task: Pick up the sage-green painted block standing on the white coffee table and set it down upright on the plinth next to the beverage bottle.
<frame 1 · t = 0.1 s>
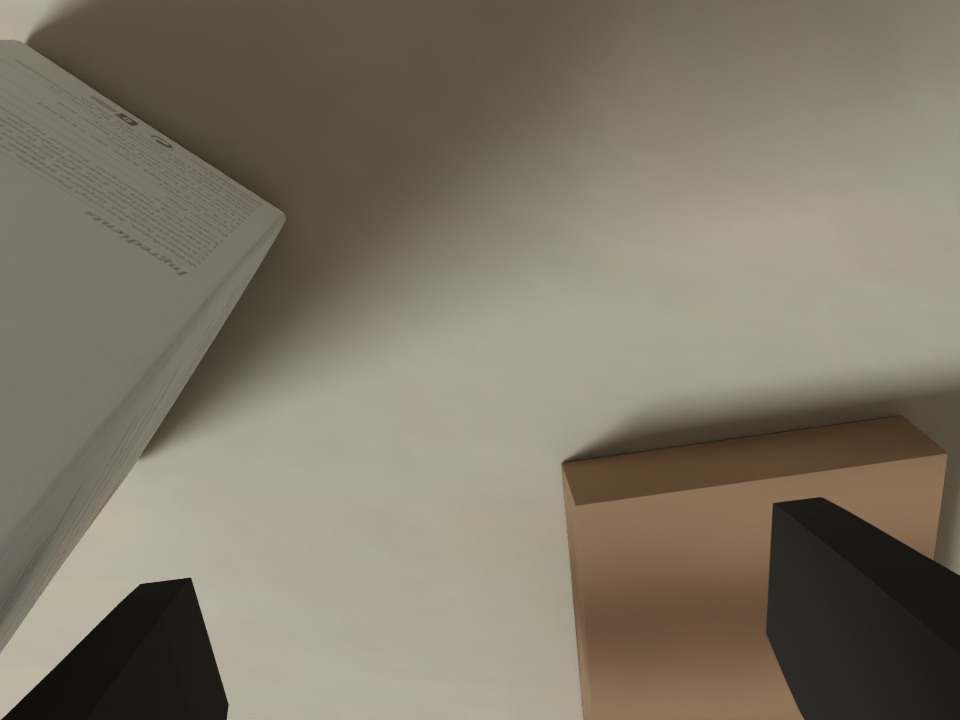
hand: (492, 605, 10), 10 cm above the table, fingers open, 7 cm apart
small box: (81, 276, 18), on the table, touching gripper
plinth: (730, 578, 23), on the table
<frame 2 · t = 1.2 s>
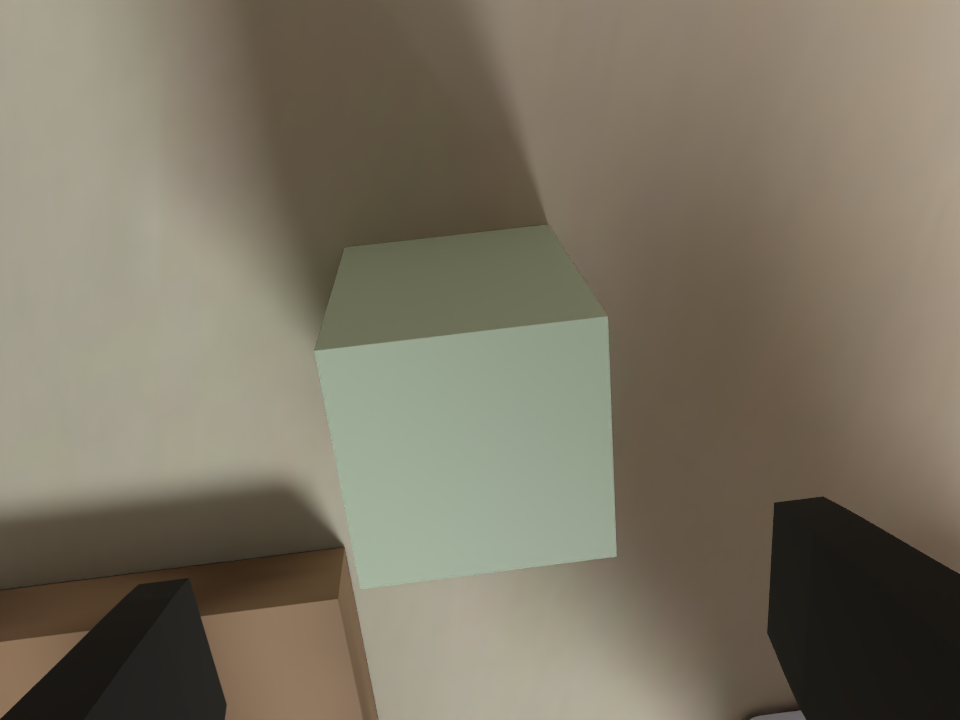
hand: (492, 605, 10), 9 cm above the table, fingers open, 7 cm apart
plinth: (207, 702, 22), on the table
block: (457, 330, 19), on the table
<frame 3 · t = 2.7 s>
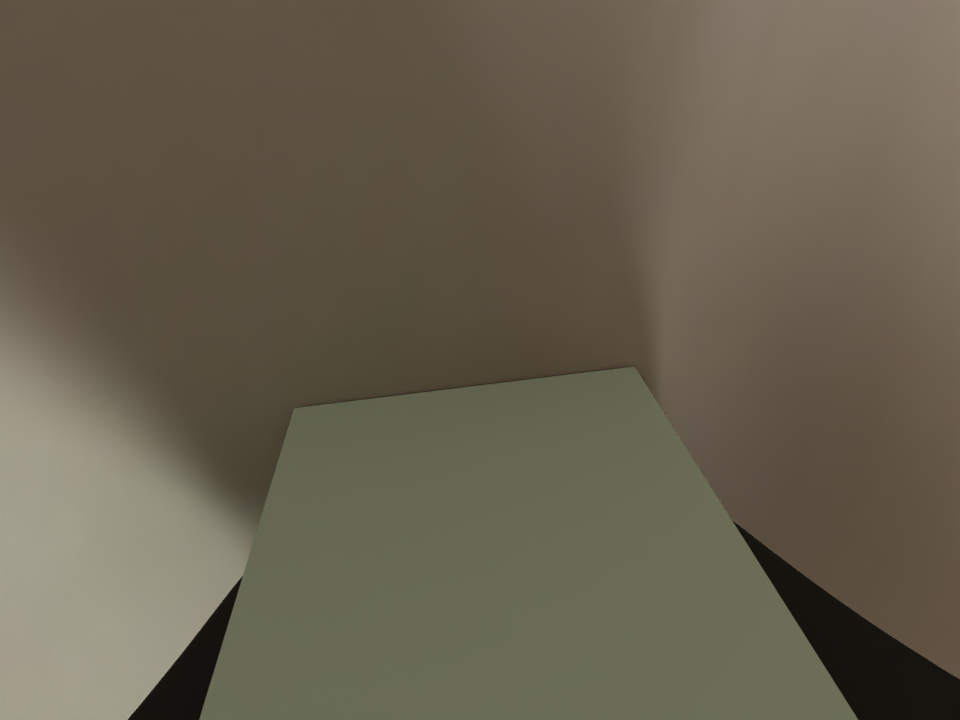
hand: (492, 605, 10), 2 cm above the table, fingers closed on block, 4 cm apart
block: (482, 529, 12), on the table, touching gripper
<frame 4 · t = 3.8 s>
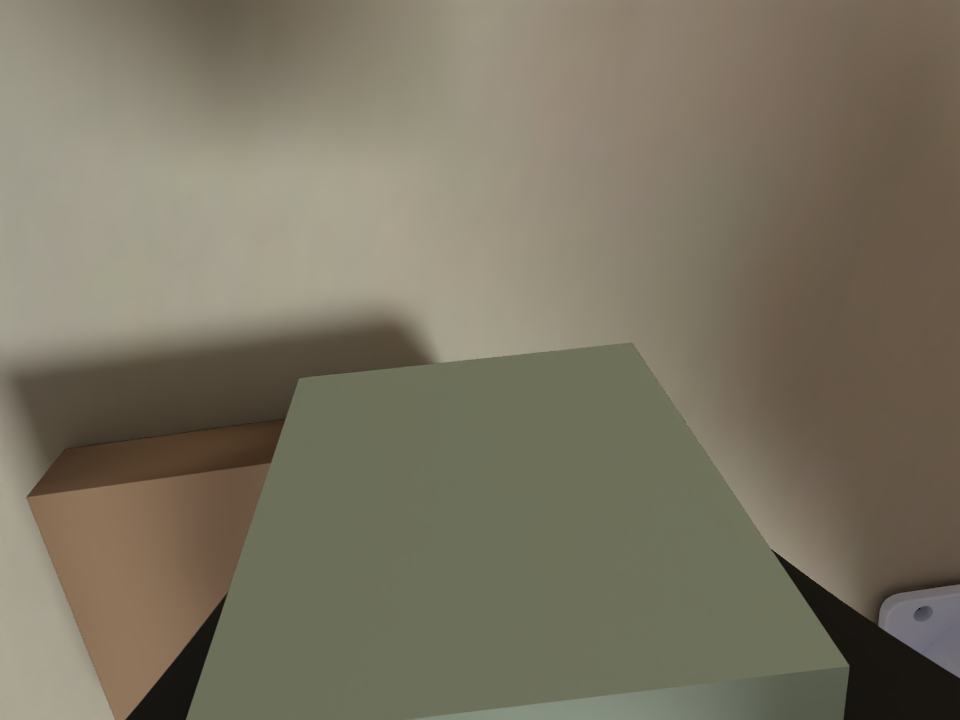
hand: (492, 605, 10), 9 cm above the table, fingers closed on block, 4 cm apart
plinth: (301, 579, 20), on the table
block: (480, 502, 12), point 7 cm above the table, touching gripper
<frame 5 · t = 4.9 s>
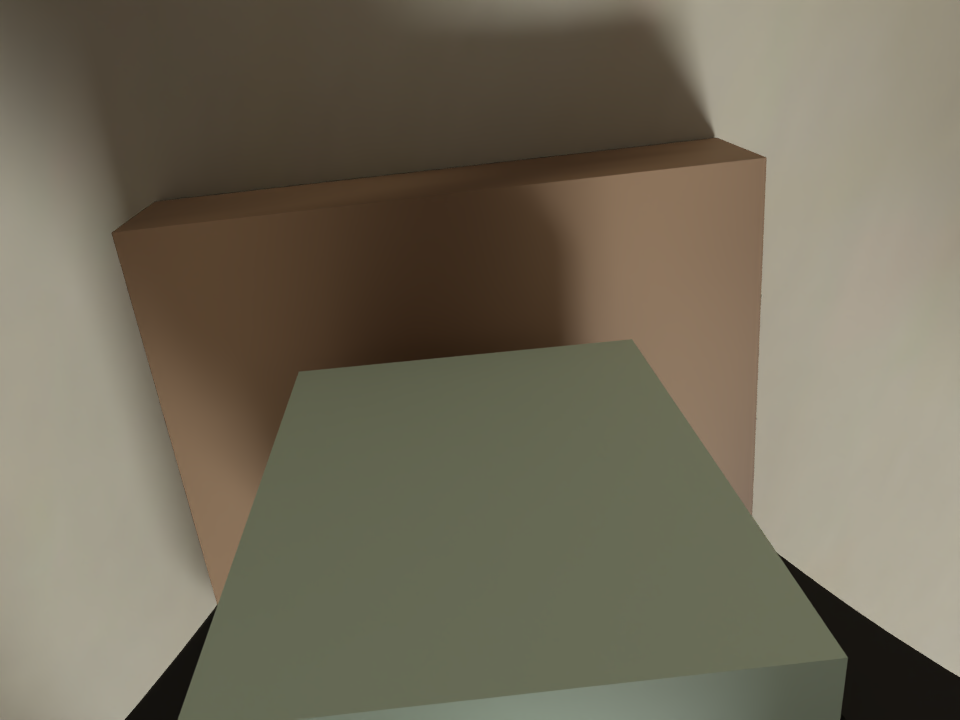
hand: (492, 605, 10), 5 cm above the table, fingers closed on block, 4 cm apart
plinth: (468, 419, 15), on the table
block: (479, 498, 12), point 3 cm above the table, touching gripper
when the fingers open (5 cm above the table, at t = 5.4 s): block stays where it is, resting on plinth.
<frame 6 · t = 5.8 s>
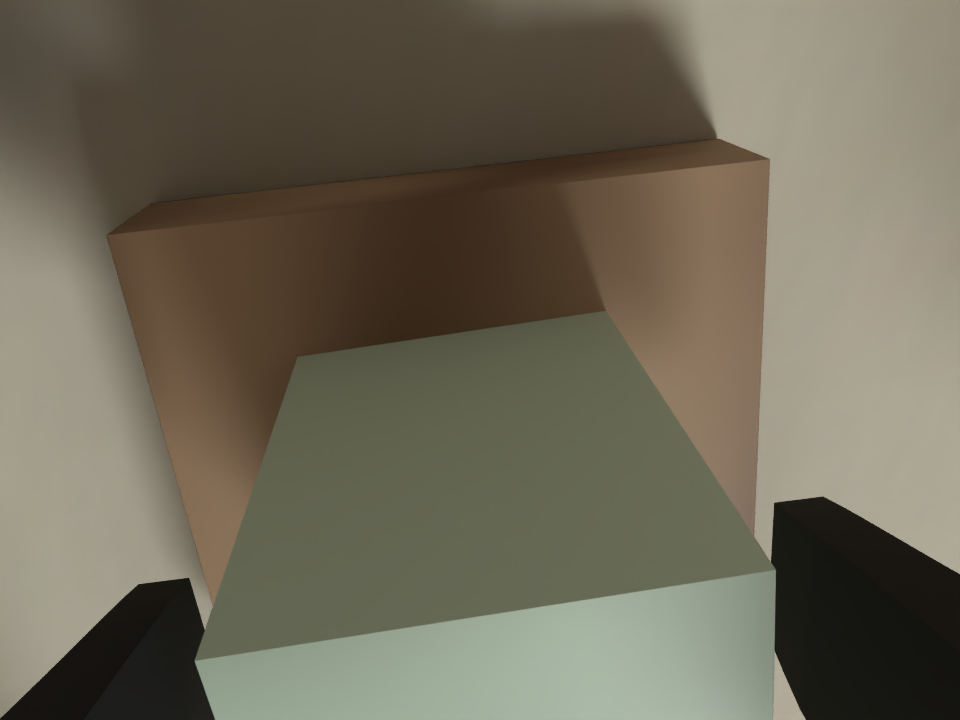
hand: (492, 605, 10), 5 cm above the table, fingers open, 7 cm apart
plinth: (467, 423, 15), on the table
block: (473, 467, 13), point 2 cm above the table, touching plinth
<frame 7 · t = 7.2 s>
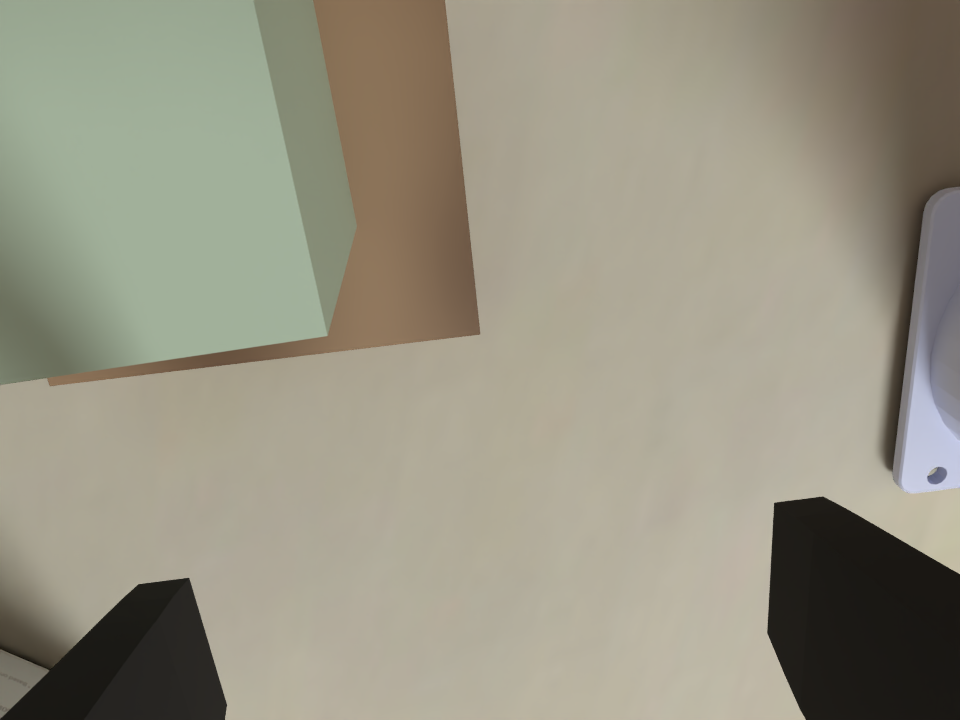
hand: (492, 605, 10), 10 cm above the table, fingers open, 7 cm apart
plinth: (239, 127, 17), on the table
block: (214, 125, 15), point 2 cm above the table, touching plinth
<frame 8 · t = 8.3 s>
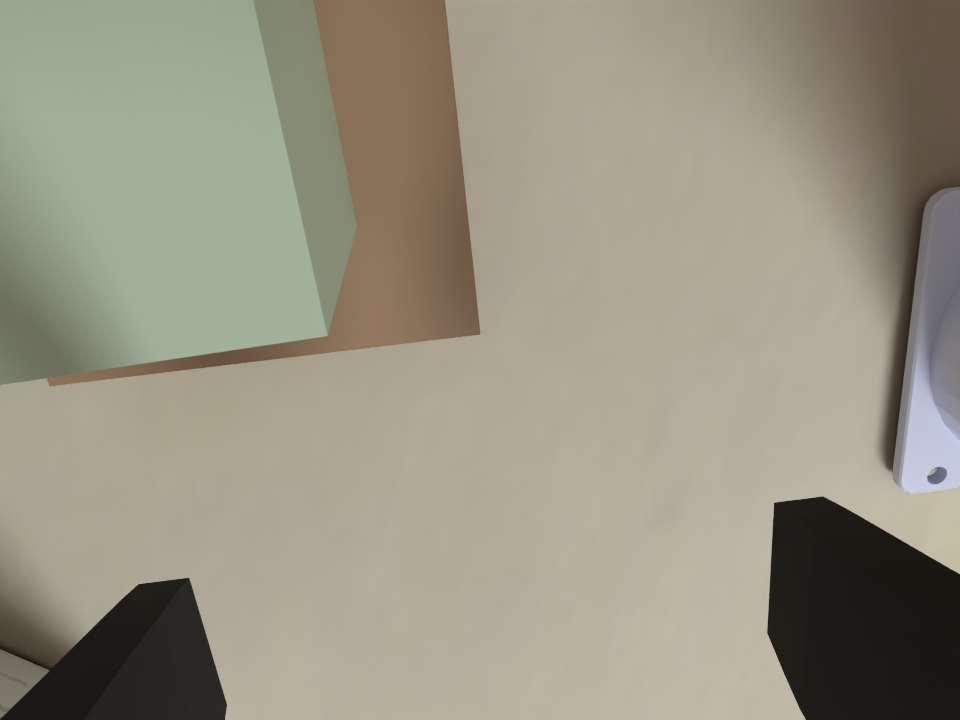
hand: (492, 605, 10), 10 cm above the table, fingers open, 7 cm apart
plinth: (239, 127, 17), on the table
block: (214, 125, 15), point 2 cm above the table, touching plinth
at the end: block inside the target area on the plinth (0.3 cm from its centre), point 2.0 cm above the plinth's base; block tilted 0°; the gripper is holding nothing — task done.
